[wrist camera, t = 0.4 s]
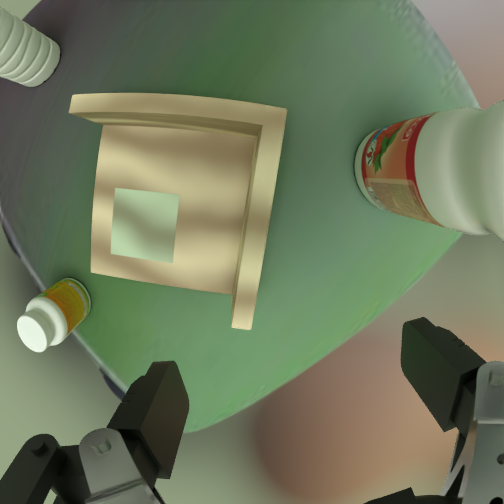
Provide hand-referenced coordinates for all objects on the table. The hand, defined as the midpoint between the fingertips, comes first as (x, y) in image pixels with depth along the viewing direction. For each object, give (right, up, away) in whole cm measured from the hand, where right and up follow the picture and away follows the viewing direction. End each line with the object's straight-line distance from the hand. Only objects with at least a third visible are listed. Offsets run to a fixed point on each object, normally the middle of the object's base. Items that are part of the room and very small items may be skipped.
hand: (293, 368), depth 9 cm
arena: (-9, +9, +20) cm, 24 cm away
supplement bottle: (-23, -2, +22) cm, 32 cm away
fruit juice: (+14, +13, +20) cm, 28 cm away
